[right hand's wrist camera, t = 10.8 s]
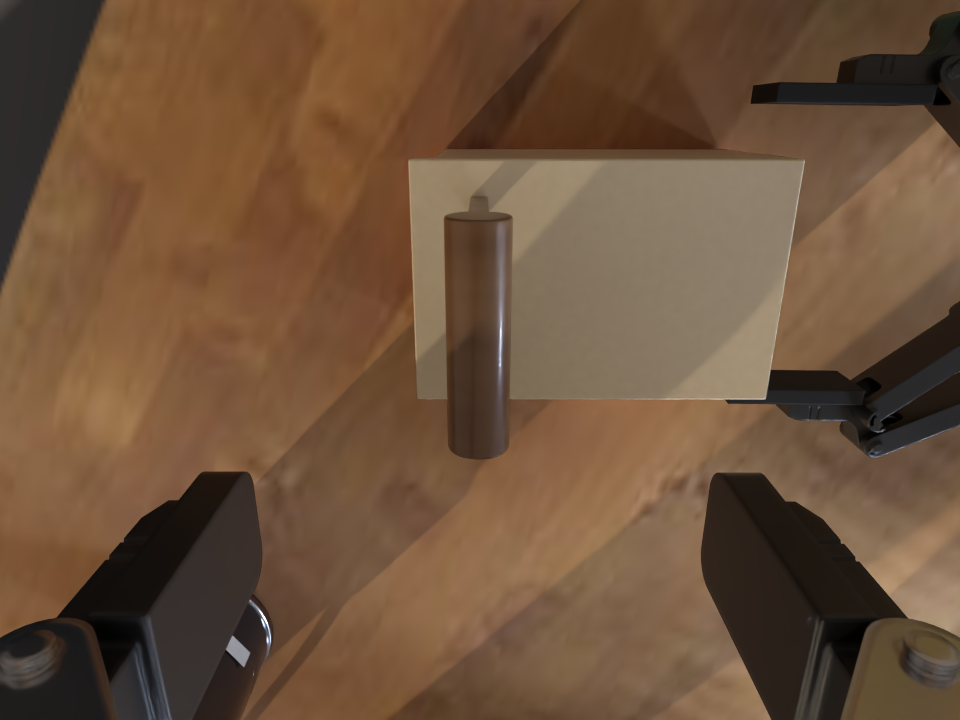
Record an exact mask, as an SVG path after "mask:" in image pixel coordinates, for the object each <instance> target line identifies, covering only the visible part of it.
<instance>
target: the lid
mask: <svg viewBox="0 0 960 720" xmlns="http://www.w3.org/2000/svg"><path fill="white" fill-rule="evenodd" d="M804 163H805V160H804V159H799V158H411V159H409V161H408V164H409V191H410V219H411V247H412V274H413V302H414V330H415V357H416V385H417V398H418V399H447V417H448V446H449V449H450V450H451V451H452V452H453V453H454V454H456V455H458V456H460V457H463V458H468V459H489V458H494V457H497V456H499V455H501V454H503V453H504V452H505V451H506V450H507V449H508V447H509V421H510V399H766V395H767V389H768V382H769V376H770V370H771V364H772V358H773V352H774V346H775V340H776V334H777V328H778V322H779V316H780V309H781V303H782V297H783V291H784V285H785V279H786V273H787V267H788V261H789V255H790V249H791V243H792V236H793V230H794V224H795V218H796V212H797V206H798V200H799V194H800V188H801V182H802V176H803V170H804Z"/></svg>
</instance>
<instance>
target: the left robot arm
mask: <svg viewBox="0 0 960 720" xmlns="http://www.w3.org/2000/svg"><path fill="white" fill-rule="evenodd" d="M929 35H930V40H929V42H928V44H927V45H926V47H925V48H924V49H923V50H922V51H921V52H920V53H919V54H918V55H898V54H896V55H894V54H869V55H863V56H857V57H852V58H850V59H847V60H845V61H842V62H840V67H839V73H838V78H837V83H794V82H778V83H770V84H762V85H755V86H753V91H752V98H751V104H807V105H874V106H902V105H924V106H925V107H926V108H927V110H928V111H929V112H930V113H931V114H932V115H933V117H934V118H935V119H936V120H937V121H938V123H939V124H940V125H941V126H942V127H943V128H944V130H945V131H946V132H947V133H948V134H949V135H950V137H951V138H952V139H953V140H954V141H955V142H956V144H957V145H958V146H959V147H960V11H957V12H952V13H948V14H944V15H941V16H939V17H937V18H936V19H935V20H934V21H933V23H932V25H931V27H930V31H929ZM959 371H960V301H959V302H958V303H956V304H955V305H953V306H952V307H951V308H950V310H949V315H948V316H947V317H946V318H944V319H943V320H941V321H940V322H938V323H937V324H935V325H934V326H932V327H931V328H929V329H928V330H926V331H925V332H923V333H922V334H920V335H919V336H917V337H916V338H914V339H912V340H911V341H909V342H908V343H906V344H905V345H903V346H902V347H900V348H899V349H897V350H896V351H894V352H893V353H891V354H890V355H888V356H887V357H885V358H884V359H882V360H881V361H879V362H878V363H876V364H875V365H873V366H871V367H870V368H868V369H867V370H865V371H864V372H862V373H861V374H859V375H858V376H856V377H855V378H853V379H852V380H849V379H848V378H846V377H845V376H843V375H842V374H840V373H839V372H838V371H809V370H770V376H769V382H768V389H767V395H766V399H725V400H726V401H727V403H728V404H776V405H777V406H778V407H779V408H780V409H781V410H782V411H783V412H784V413H785V414H786V415H787V416H788V417H791V418H793V419H796V420H815V421H816V420H818V421H842V422H841V424H840V431H841V433H842V434H843V435H844V436H845V437H846V438H847V439H849V440H850V441H851V442H852V443H853V444H854V445H856V446H857V447H858V448H859V449H860V450H861V451H863V452H864V453H865V454H866V455H867V456H869V457H873V458H876V457H880V456H883V455H885V454H888V453H890V452H893V451H896V450H898V449H901V448H903V447H906V446H908V445H911V444H914V443H916V442H919V441H921V440H924V439H926V438H929V437H932V436H934V435H937V434H939V433H942V432H944V431H947V430H950V429H952V428H955V427H957V426H960V372H959ZM957 372H959V373H957ZM955 373H956V374H955Z"/></svg>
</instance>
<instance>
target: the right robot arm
mask: <svg viewBox="0 0 960 720" xmlns="http://www.w3.org/2000/svg"><path fill="white" fill-rule="evenodd" d="M701 565H702V572H703V577H704V580H705V583H706V586H707V588H708V590H709V592H710V594H711V597H712V599H713V601H714V603H715V605H716V607H717V609H718V611H719V613H720V615H721V617H722V619H723V621H724V623H725V625H726V627H727V629H728V631H729V633H730V635H731V638H732V640H733V642H734V644H735V646H736V648H737V650H738V652H739V654H740V656H741V658H742V660H743V662H744V664H745V666H746V668H747V670H748V672H749V674H750V677H751V679H752V681H753V683H754V685H755V687H756V689H757V691H758V693H759V695H760V697H761V699H762V701H763V703H764V705H765V707H766V709H767V711H768V713H769V716H770V718H771V720H960V638H959V637H957V636H956V635H954V634H952V633H950V632H948V631H946V630H944V629H941V628H939V627H936V626H934V625H931V624H928V623H925V622H921V621H917V620H913V619H908V618H907V617H906V615H905V614H904V613H903V612H902V611H901V610H900V608H899V607H898V606H897V605H896V604H895V603H894V601H893V600H892V599H891V598H890V597H889V596H888V595H887V593H886V592H885V591H884V590H883V589H882V588H881V586H880V585H879V584H878V583H877V582H876V581H875V579H874V578H873V577H872V576H871V575H870V574H869V572H868V571H867V570H866V569H865V568H864V567H863V565H862V564H861V563H860V562H856V560H855V556H854V555H853V554H852V553H851V552H850V550H849V549H848V548H847V547H846V546H845V545H844V544H841V542H840V539H839V538H838V536H837V535H836V534H835V533H834V532H833V531H832V529H831V528H830V527H829V526H828V525H827V524H826V523H825V521H824V520H823V519H822V518H820V517H818V516H817V515H815V514H814V513H812V512H811V511H809V510H807V509H806V508H804V507H803V506H801V505H800V504H798V503H797V502H785V500H784V499H783V498H782V497H781V495H780V494H779V493H778V492H777V490H776V489H775V488H774V487H773V485H772V484H771V483H770V482H769V480H768V479H767V478H766V477H765V476H764V475H763V474H762V473H716V474H714V476H713V478H712V480H711V483H710V489H709V496H708V504H707V511H706V518H705V525H704V532H703V539H702V547H701ZM261 566H262V543H261V536H260V528H259V521H258V514H257V507H256V499H255V492H254V485H253V481H252V478H251V475H250V474H249V473H248V472H202V473H200V474H199V475H198V477H197V478H196V479H195V480H194V482H193V483H192V484H191V485H190V487H189V488H188V489H187V490H186V492H185V493H184V494H183V496H182V497H181V498H180V499H179V500H169V501H167V502H166V503H164V504H162V505H161V506H159V507H158V508H156V509H155V510H153V511H152V512H150V513H148V514H147V515H145V516H144V517H142V518H141V519H140V520H139V521H138V523H137V524H136V525H135V526H134V527H133V529H132V530H131V531H130V532H129V533H128V534H127V536H126V537H125V538H124V542H123V543H120V544H119V545H118V546H117V547H116V548H115V550H114V551H113V552H112V553H111V554H110V555H109V560H105V561H104V562H103V564H102V565H101V566H100V567H99V568H98V570H97V571H96V572H95V573H94V574H93V575H92V577H91V578H90V579H89V580H88V581H87V582H86V584H85V585H84V586H83V587H82V588H81V589H80V591H79V592H78V593H77V594H76V595H75V596H74V598H73V599H72V600H71V601H70V602H69V603H68V605H67V606H66V607H65V608H64V609H63V611H62V612H61V613H60V614H59V615H58V616H57V618H54V619H47V620H43V621H39V622H35V623H32V624H29V625H26V626H24V627H21V628H19V629H16V630H14V631H12V632H10V633H8V634H6V635H4V636H3V637H1V638H0V720H240V719H241V717H242V714H243V712H244V709H245V707H246V704H247V702H248V699H249V697H250V695H251V692H252V690H253V687H254V685H255V682H256V680H257V677H258V675H259V672H260V670H261V667H262V666H263V664H264V662H265V661H266V659H267V656H268V654H269V651H270V649H271V646H272V641H273V627H272V622H271V619H270V617H269V615H268V612H267V611H266V609H265V607H264V606H263V605H262V603H261V602H260V601H259V600H258V599H257V598H256V597H255V596H254V595H253V592H254V590H255V588H256V586H257V583H258V580H259V577H260V572H261Z"/></svg>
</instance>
